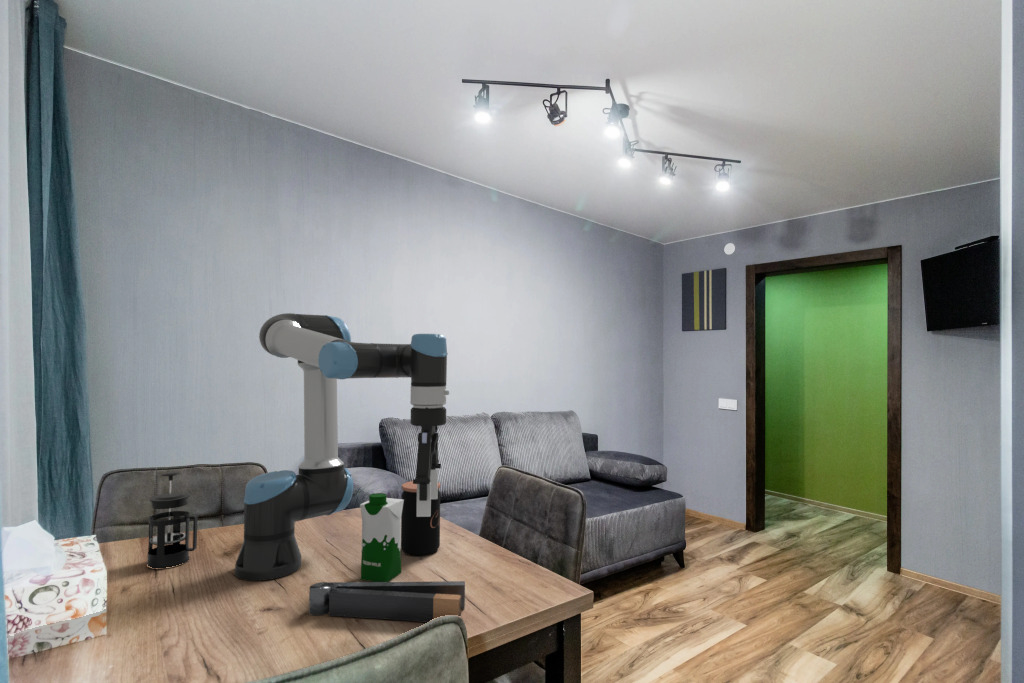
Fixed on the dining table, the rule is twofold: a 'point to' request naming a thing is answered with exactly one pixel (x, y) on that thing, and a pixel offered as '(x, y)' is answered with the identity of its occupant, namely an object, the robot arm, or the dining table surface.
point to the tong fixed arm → (322, 589)
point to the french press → (175, 550)
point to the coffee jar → (419, 524)
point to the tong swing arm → (392, 604)
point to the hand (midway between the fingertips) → (427, 507)
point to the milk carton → (381, 538)
